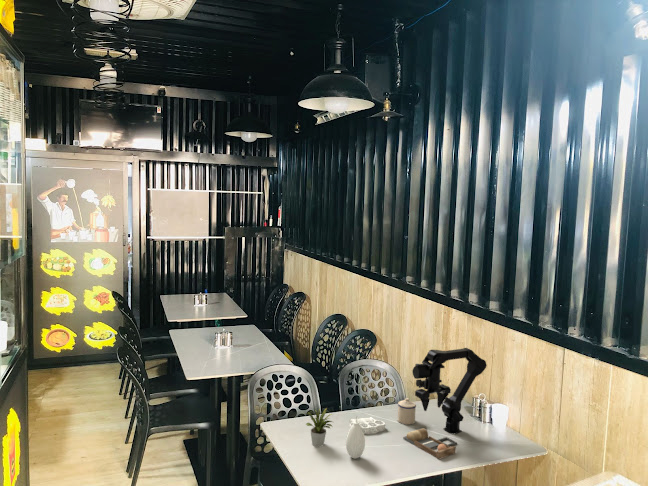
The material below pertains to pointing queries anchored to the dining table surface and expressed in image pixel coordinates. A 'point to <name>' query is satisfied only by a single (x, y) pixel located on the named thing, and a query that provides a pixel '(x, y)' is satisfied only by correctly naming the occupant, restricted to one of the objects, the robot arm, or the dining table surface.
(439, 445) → the ball
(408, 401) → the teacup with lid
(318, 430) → the house plant
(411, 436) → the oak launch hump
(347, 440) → the white vase
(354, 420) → the white paint palette
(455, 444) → the grey square frame
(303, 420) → the dining table surface
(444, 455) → the walnut lane
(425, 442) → the runway mat
